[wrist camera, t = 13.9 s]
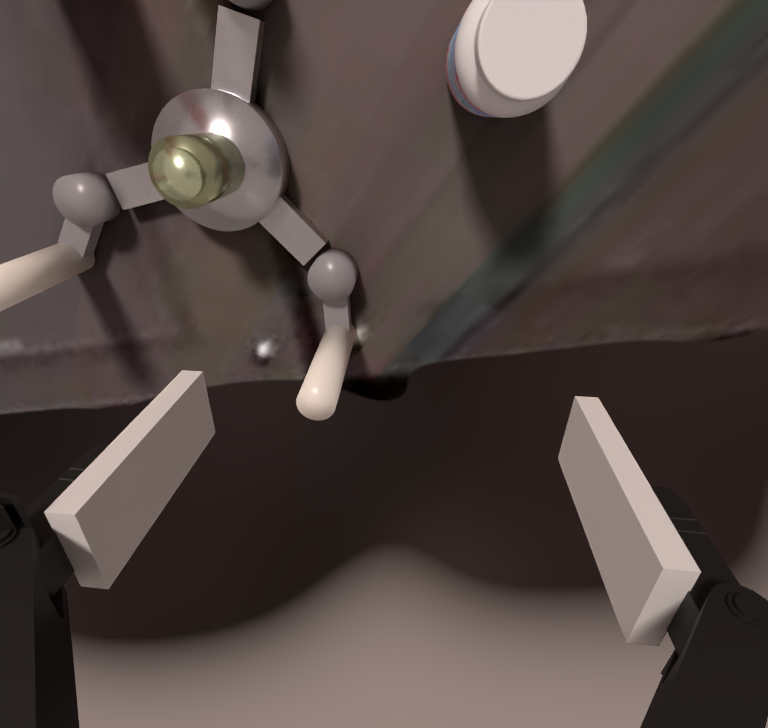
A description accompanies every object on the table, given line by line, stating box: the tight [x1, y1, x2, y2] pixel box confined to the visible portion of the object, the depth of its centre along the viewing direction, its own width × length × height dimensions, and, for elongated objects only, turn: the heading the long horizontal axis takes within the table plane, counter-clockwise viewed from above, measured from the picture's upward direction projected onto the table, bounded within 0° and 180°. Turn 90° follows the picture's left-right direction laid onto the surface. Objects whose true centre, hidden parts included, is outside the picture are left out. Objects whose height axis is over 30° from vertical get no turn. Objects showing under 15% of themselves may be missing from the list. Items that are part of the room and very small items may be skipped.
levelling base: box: [106, 5, 328, 266], centre depth 28 cm, size 17×14×8 cm
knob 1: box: [0, 172, 122, 311], centre depth 31 cm, size 9×4×11 cm, turn 146°
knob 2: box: [296, 248, 358, 420], centre depth 33 cm, size 9×4×11 cm, turn 2°
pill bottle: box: [446, 0, 587, 118], centre depth 24 cm, size 6×6×11 cm
